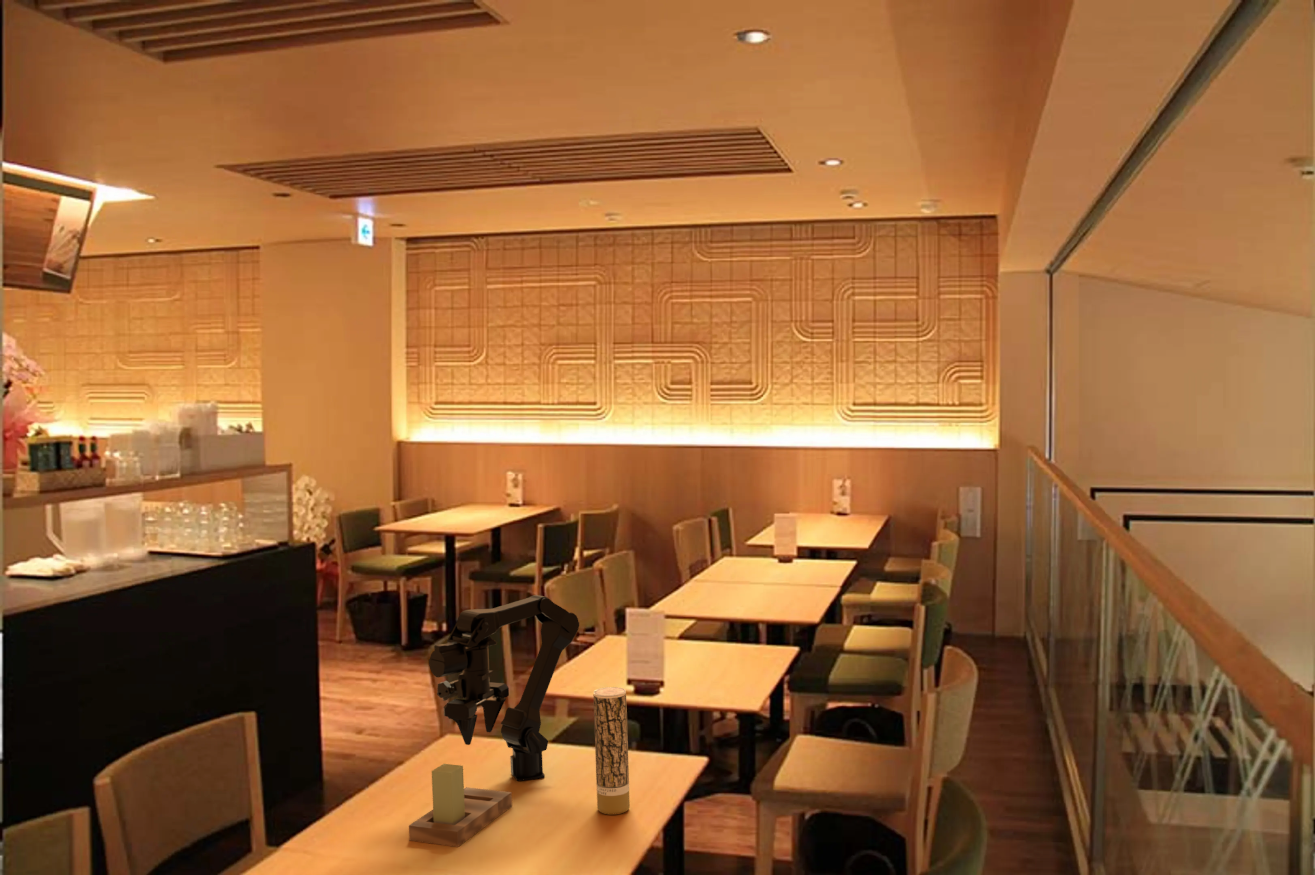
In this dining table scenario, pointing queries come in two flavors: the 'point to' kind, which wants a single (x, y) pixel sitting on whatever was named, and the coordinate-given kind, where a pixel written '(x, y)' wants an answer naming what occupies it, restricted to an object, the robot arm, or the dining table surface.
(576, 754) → the dining table surface
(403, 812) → the dining table surface
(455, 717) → the robot arm
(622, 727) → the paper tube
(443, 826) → the socket board
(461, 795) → the square bit
